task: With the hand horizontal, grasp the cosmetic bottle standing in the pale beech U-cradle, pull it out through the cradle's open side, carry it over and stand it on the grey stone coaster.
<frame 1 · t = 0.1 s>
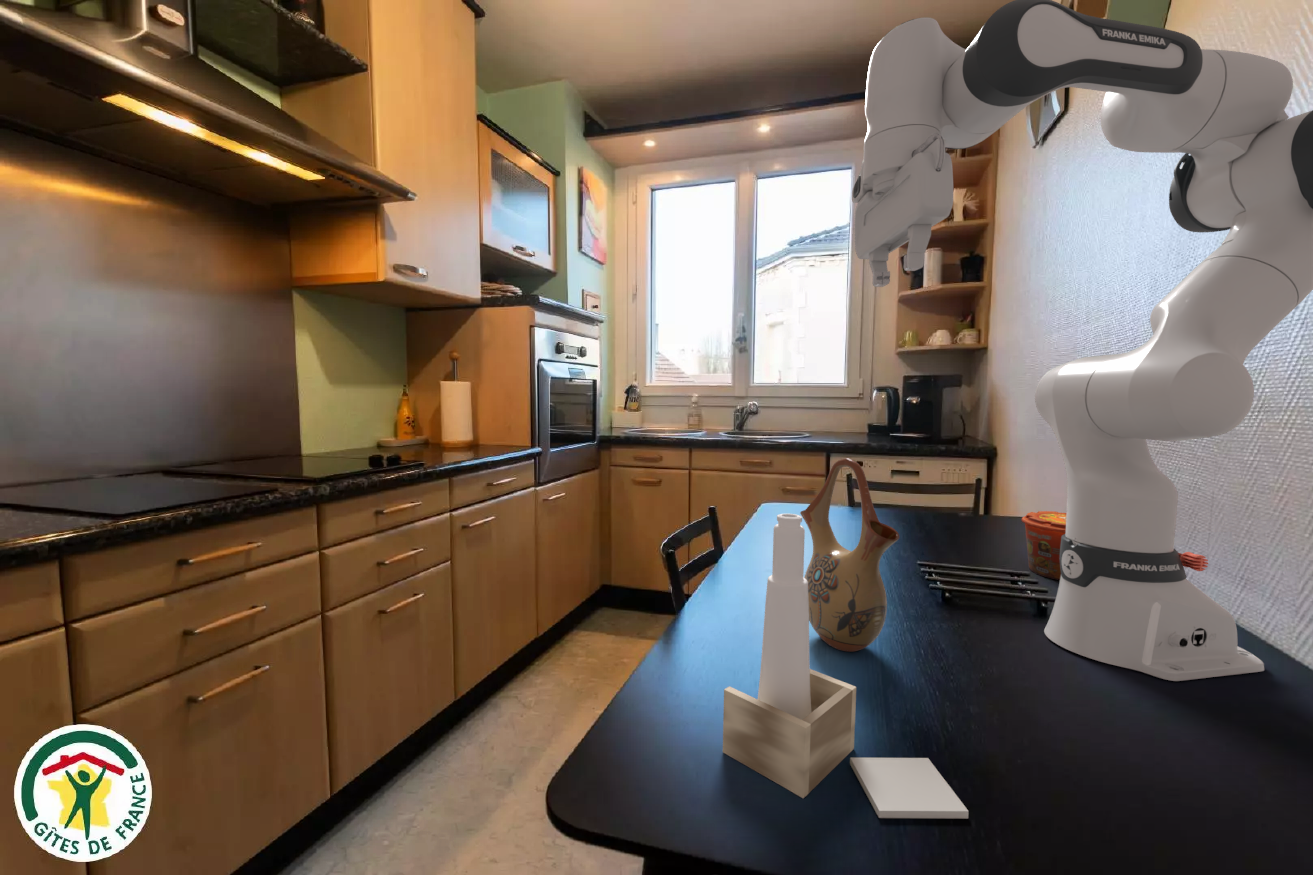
hand: (896, 278, 70), 48 cm above the table, tool pointing down, fingers open, 8 cm apart
beech cradle: (782, 747, 52), on the table
ceramic vessel: (841, 645, 74), on the table
cosmetic bottle: (782, 749, 52), on the table
stone coaster: (905, 789, 46), on the table
food container: (1069, 575, 105), on the table
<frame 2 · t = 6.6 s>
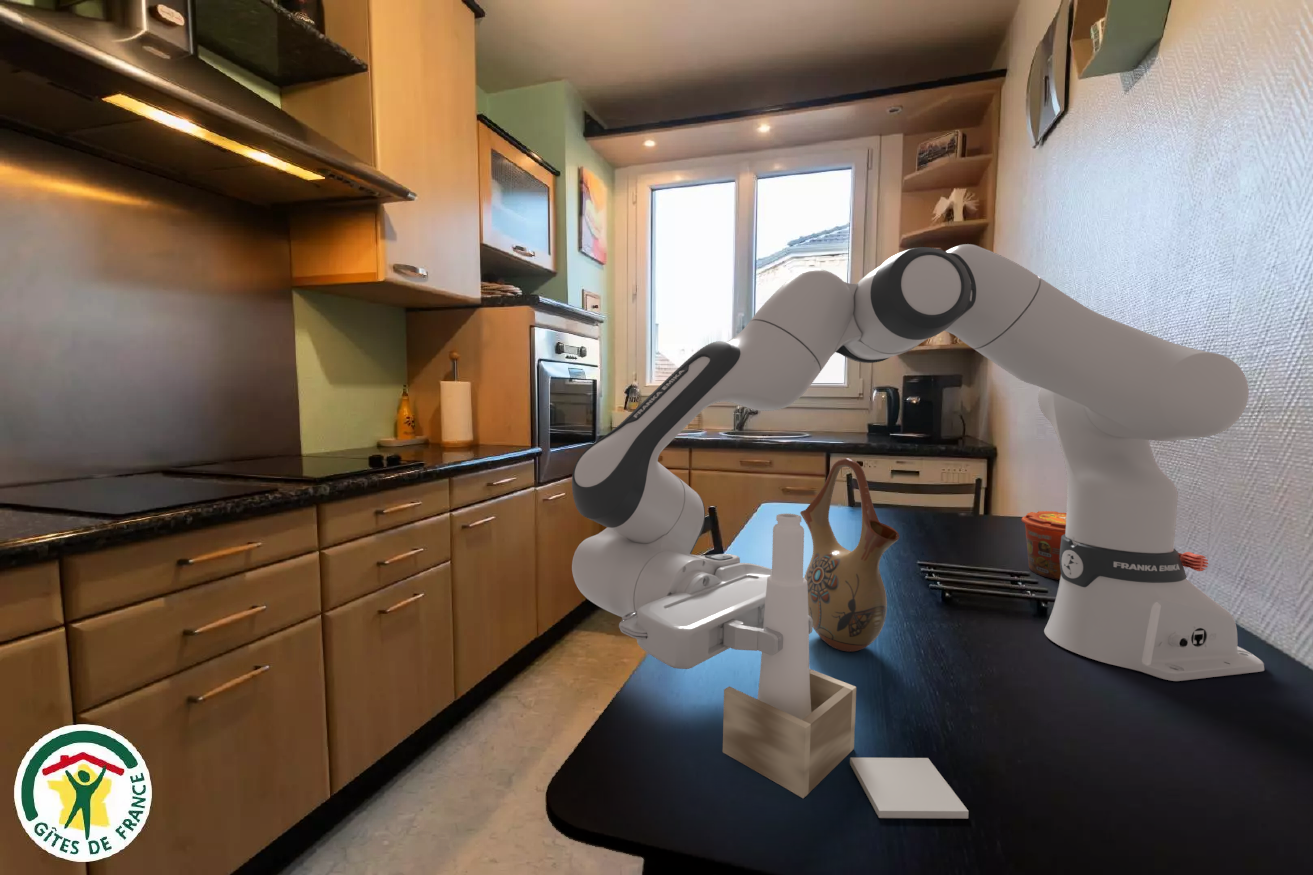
hand: (794, 635, 51), 11 cm above the table, tool horizontal, fingers closed on cosmetic bottle, 4 cm apart
cosmetic bottle: (782, 749, 52), on the table, touching gripper
everything else where it was.
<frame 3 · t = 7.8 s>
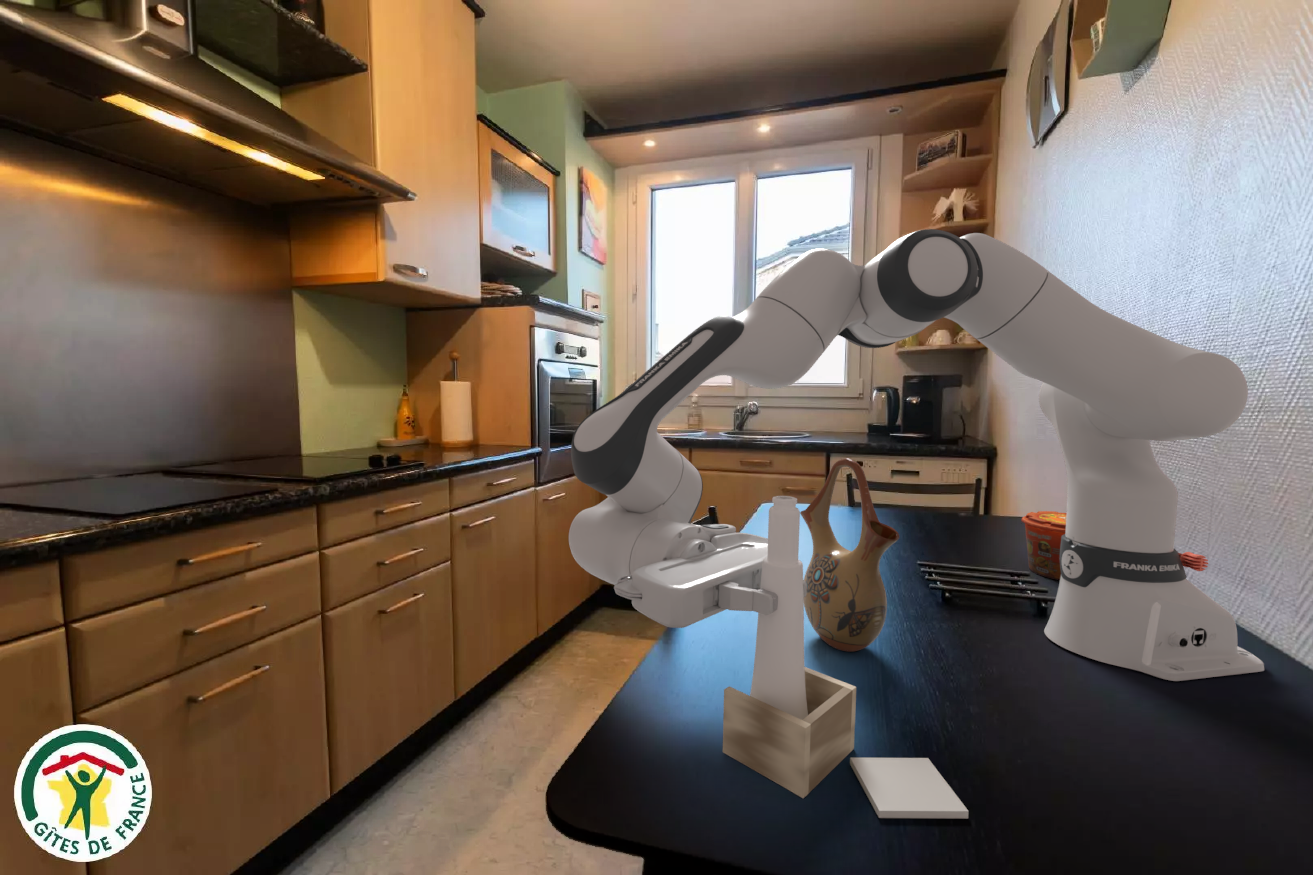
hand: (789, 597, 51), 14 cm above the table, tool horizontal, fingers closed on cosmetic bottle, 3 cm apart
cosmetic bottle: (776, 730, 52), point 1 cm above the table, touching gripper
everything else where it was.
when the fingers open (13 cm above the table, at t = 12.5 s): cosmetic bottle stays where it is, resting on stone coaster.
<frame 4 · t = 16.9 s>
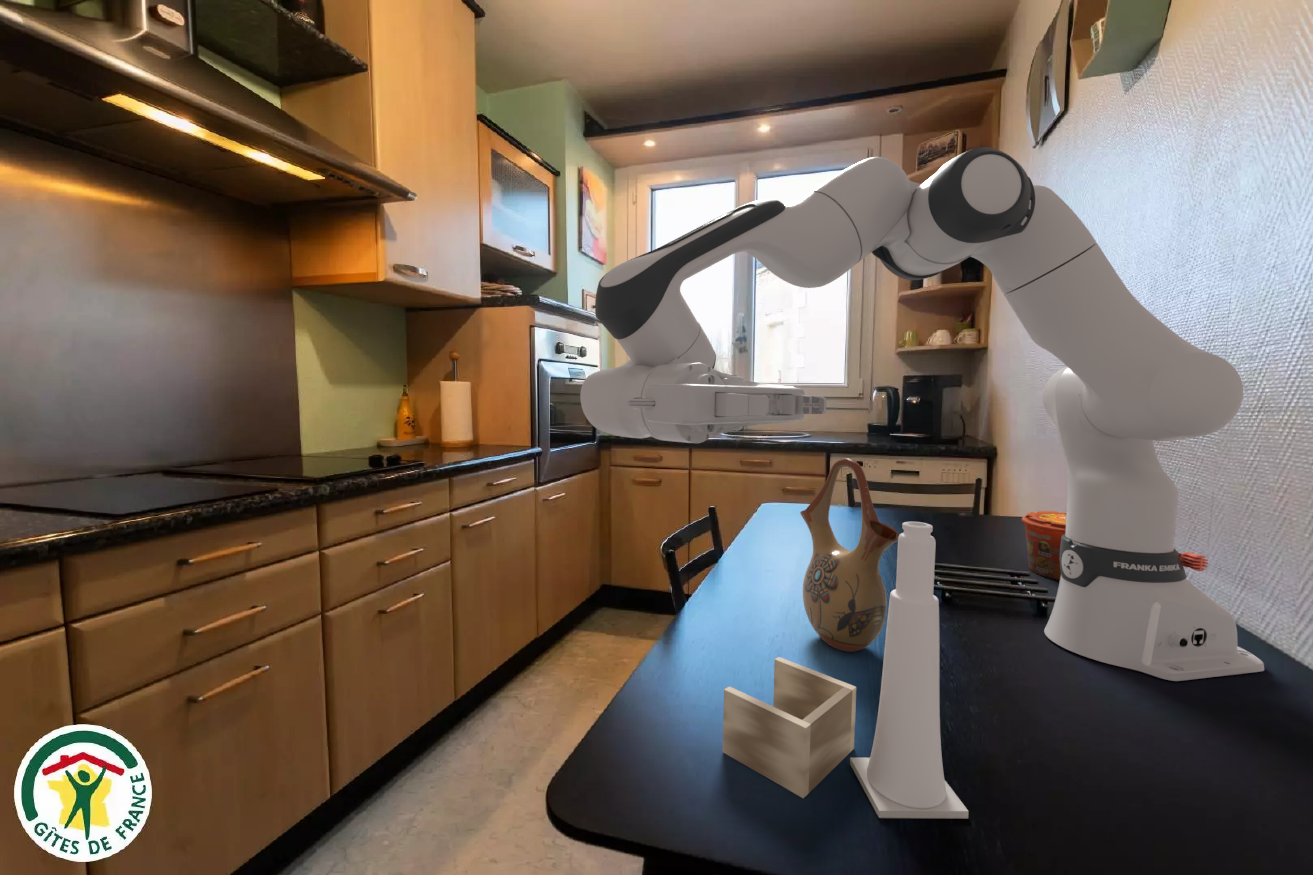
hand: (798, 405, 52), 32 cm above the table, tool horizontal, fingers open, 8 cm apart
cosmetic bottle: (905, 785, 46), resting on stone coaster
everything else where it was.
at the end: cosmetic bottle inside the target area (0.1 cm from its centre), resting on stone coaster; cosmetic bottle tilted 0°; the gripper is holding nothing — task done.
